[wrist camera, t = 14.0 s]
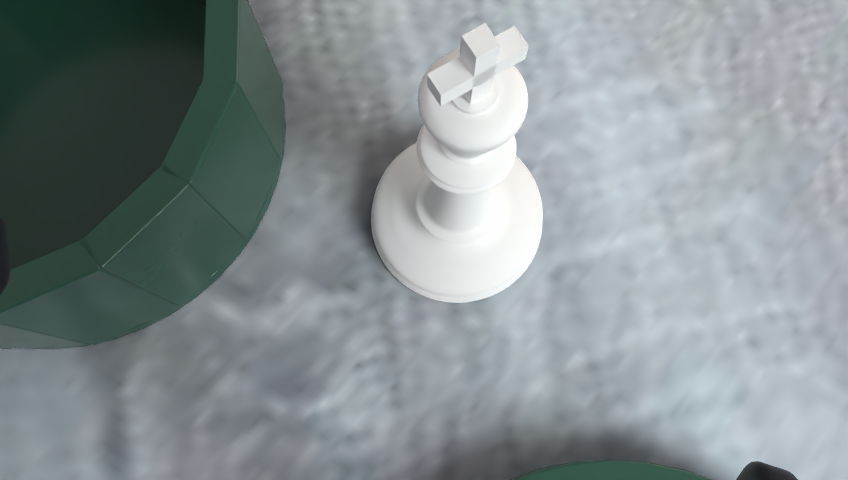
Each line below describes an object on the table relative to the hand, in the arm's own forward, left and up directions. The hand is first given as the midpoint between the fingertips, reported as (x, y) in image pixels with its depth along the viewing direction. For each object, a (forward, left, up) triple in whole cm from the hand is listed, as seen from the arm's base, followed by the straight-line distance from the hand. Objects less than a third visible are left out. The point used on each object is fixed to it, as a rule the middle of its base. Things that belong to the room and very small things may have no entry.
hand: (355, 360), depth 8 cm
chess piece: (+4, +3, -12) cm, 13 cm away
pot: (-3, +12, -12) cm, 17 cm away
